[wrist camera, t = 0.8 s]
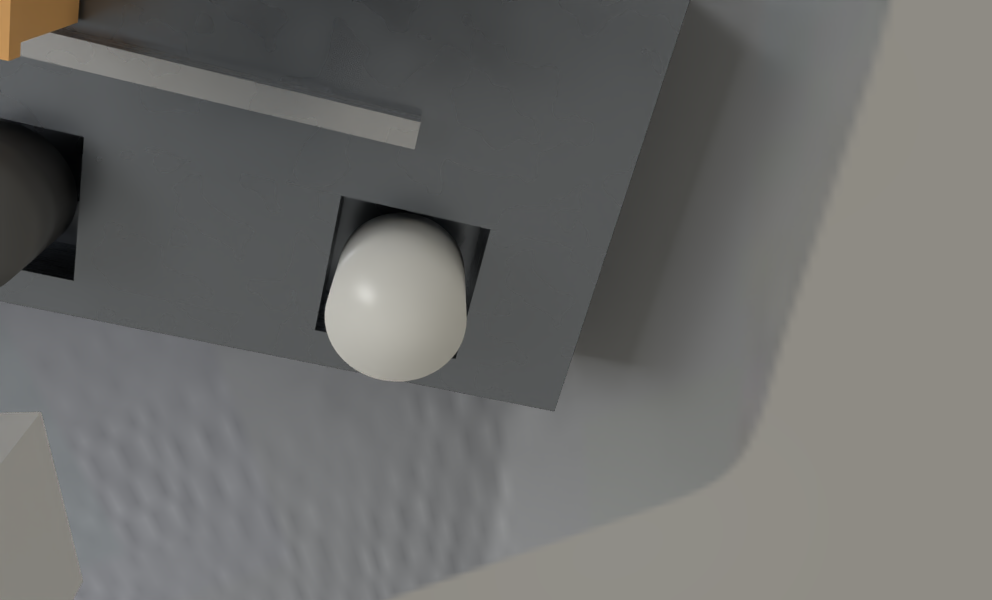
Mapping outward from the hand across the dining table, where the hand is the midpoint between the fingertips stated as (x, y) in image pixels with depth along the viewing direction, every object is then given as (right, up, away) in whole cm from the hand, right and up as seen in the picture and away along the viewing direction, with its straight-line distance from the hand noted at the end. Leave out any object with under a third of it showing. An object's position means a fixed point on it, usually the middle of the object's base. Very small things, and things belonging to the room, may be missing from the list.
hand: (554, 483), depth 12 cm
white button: (-4, +3, +16) cm, 17 cm away
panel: (-9, +9, +18) cm, 22 cm away
